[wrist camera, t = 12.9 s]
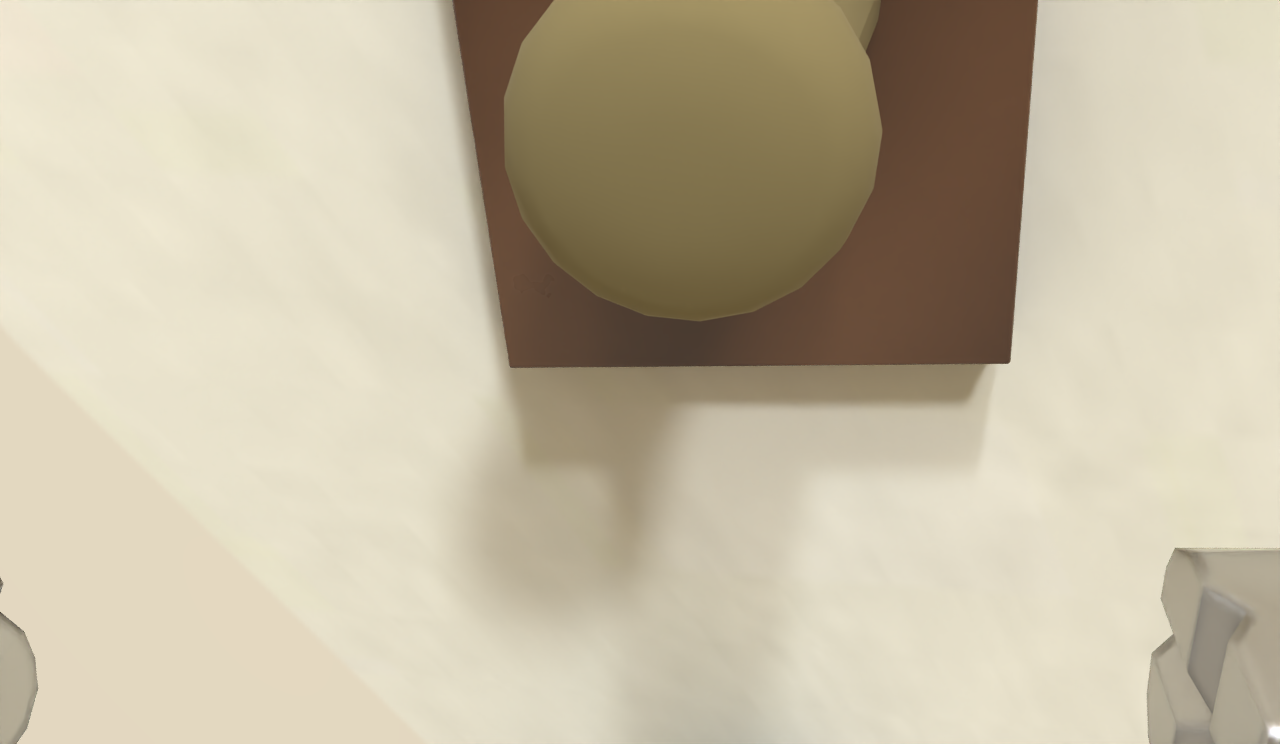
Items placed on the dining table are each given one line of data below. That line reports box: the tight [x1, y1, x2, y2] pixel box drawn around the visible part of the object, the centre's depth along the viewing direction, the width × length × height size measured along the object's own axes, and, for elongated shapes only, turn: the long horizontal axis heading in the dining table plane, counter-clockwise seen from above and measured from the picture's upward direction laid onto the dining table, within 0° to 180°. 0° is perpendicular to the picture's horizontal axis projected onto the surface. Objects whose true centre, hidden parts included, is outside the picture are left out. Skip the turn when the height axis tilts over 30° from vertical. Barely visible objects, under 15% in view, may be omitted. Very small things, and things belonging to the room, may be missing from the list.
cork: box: [504, 0, 882, 321], centre depth 20 cm, size 6×6×11 cm
